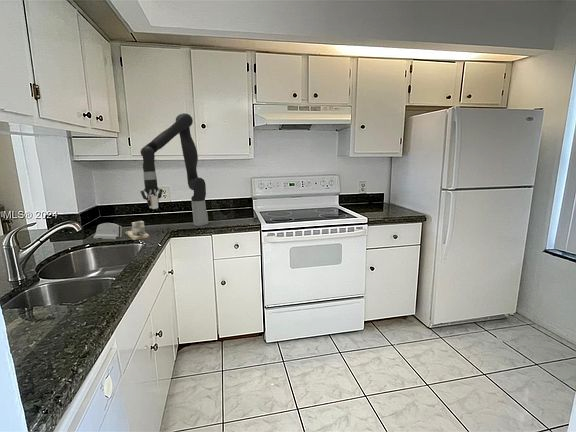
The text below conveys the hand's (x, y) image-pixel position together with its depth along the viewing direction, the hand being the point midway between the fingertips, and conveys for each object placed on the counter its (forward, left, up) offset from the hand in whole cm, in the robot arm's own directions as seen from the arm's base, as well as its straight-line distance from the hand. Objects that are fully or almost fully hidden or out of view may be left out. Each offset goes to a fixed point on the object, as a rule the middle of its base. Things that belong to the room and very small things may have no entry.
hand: (153, 205), depth 204 cm
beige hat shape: (+12, +2, -17) cm, 21 cm away
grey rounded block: (+26, -7, -18) cm, 32 cm away
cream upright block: (0, 0, -2) cm, 2 cm away
